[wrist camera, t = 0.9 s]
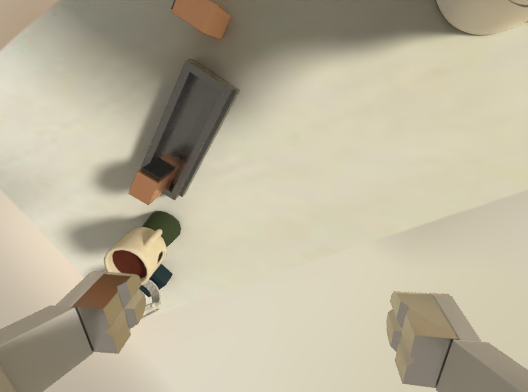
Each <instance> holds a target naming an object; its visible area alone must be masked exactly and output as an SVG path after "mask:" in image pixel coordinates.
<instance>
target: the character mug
mask: <svg viewBox="0 0 528 392" xmlns="http://www.w3.org/2000/svg"><path fill="white" fill-rule="evenodd" d="M180 231H181V227H180V224H179V221H178V220H177V219H176V218H174V217H173V216H172V215H170V214H168V213H166V212H160V211H159V212H155V213H153V214H152V215H151V216H150V217H149V219H148V220H147V221H146V222H145V224H144V225H143V226H142V227H138V228H135V229H133V230H132V231H130V232H129V233H128V234H126V235H125V236H124V237H123V238H122V239H121V240H120V241H119V242H118V243H117V244H115V245H114V246H113V247H112V248H111V249H110V250H109V251H108V252H107V253H106V256H105V258H104V264H105V268H106V270H107V272H116V273H127V274H136V275H138V276H139V277H140V280H141V283H142V284H141V285H143V284H145V283H146V282H147V281H148V280H149V278H150V277H151V276H152V274H153V273H154V272H155V270H156V269H157V268H158V267H159V265H160V264H161V263H162V261H163V260H164V258H165V256H166V254H167V248H166V247H167V246H169V245H170V244H171V243H172V242H173V241H174V240H175V239H176V238H177V237H178V236H179V235H180Z"/></svg>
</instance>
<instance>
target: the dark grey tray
mask: <svg viewBox="0 0 528 392" xmlns="http://www.w3.org/2000/svg"><path fill="white" fill-rule="evenodd" d="M239 91H240V90H238V89H237V88H235V87H234V86H232V85H230V84H229V83H227V82H226V81H224V80H223V79H221V78H220V77H218V76H217V75H215V74H213V73H212V72H210V71H209V70H207V69H206V68H204V67H203V66H201V65H200V64H198V63H197V62H195V61H193V60H190V59H188V61H186V62H185V65H184V67H183V70H182V72H181V74H180V77H179V79H178V81H177V84H176V86H175V88H174V91H173V93H172V96H171V98H170V100H169V103H168V105H167V107H166V110H165V112H164V114H163V117H162V119H161V122H160V124H159V126H158V129H157V131H156V133H155V136H154V138H153V140H152V143H151V145H150V148H149V150H148V152H147V155H146V157H145V159H144V162H143V164H142V166H141V169H140V170H139V171H138V172H137V174H136V177H135V179H134V181H133V184H132V186H131V188H130V191H129V193H128V194H130V195H132V196H133V197H135V198H137V199H139V200H140V201H142V202H144V203H145V204H147V205H149V204H150V203H152V202H153V201H154V200H155V199H156V198H157V197H159V196H160V195H161V194H162V193H163V194H165V195H167V196H168V197H170V198H172V199H174V200H175V199H176V198H177V197H178V196H179V195H180V196H181V197H183V196H184V194H185V193H186V192H187V190H188V188H189V186H190V184H191V182H192V180H193V178H194V176H195V174H196V172H197V171H198V169H199V167H200V165H201V163H202V161H203V159H204V157H205V155H206V153H207V152H208V150H209V148H210V146H211V144H212V142H213V140H214V138H215V136H216V134H217V133H218V131H219V129H220V127H221V125H222V123H223V121H224V119H225V117H226V115H227V114H228V112H229V110H230V108H231V106H232V104H233V102H234V100H235V98H236V96H237V95H238V93H239Z"/></svg>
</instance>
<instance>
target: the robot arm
mask: <svg viewBox="0 0 528 392" xmlns="http://www.w3.org/2000/svg"><path fill="white" fill-rule="evenodd" d="M436 1H437V4H438V7H439V9H440V11H441V13H442V14H443V16H444V17H445V18H446V19H447V21H448V22H449V23H450V24H452V25H453V26H454V27H456V28H457V29H459V30H461V31H464V32H467V33H470V34H476V35H488V34H495V33H499V32H502V31H506V30H508V29H511V28H513V27H515V26H517V25H519V24H522V23H524V22H527V21H528V0H436ZM141 284H142V283H141V280H140V277H139V276H138V275H136V274H127V273H116V272H102V271H94V272H91V273H89V274H88V275H87V276H86V277H85V278H84V279H83V280H82V281H81V282H80V283H79V284H78V285H77V286H76V287H75V288H74V289H72V290H71V291H70V292H69V293H68V294H67V295H66V296H65V297H64V298H63V299H62V300H61V301H60V302H59V303H57V304H56V305H55V306H48V307H47V308H44V309H42V310H40V311H38V312H36V313H34V314H32V315H30V316H27V317H25V318H23V319H21V320H19V321H17V322H15V323H13V324H11V325H9V326H7V327H4V328H2V329H0V392H43V391H44V390H45V389H47V388H48V387H49V386H51V385H52V384H53V383H55V382H56V381H57V380H59V379H60V378H61V377H62V376H64V375H65V374H66V373H68V372H69V371H70V370H71V369H72V368H74V367H75V366H77V365H78V364H79V363H81V362H82V361H83V360H85V359H86V358H87V357H88V356H90V355H91V354H92V353H93V352H105V353H119V352H120V350H121V349H122V347H123V346H124V344H125V343H126V341H127V340H128V338H129V337H130V335H131V334H130V328H132V327H134V326H135V325H137V324H138V323H139V321H140V320H141V318H142V317H143V314H144V311H145V307H146V299H145V295H144V294H143V293H142V292H141V291H140V290H139V287H140V286H141ZM390 302H391V305H392V308H393V309H392V310H391V311H389V312H388V316H387V334H388V339H389V342H390V345H391V347H392V348H393V349H394V350H395V351H396V352H397V354H396V359H395V362H396V365H397V368H398V371H399V374H400V377H401V380H402V383H403V384H410V385H417V386H418V385H419V386H426V387H432V388H436V390H437V391H438V392H528V370H527V369H526V368H524V367H523V366H521V365H520V364H518V363H517V362H516V361H514V360H513V359H511V358H510V357H508V356H507V355H506V354H504V353H503V352H501V351H500V350H498V349H497V348H495V347H494V346H493V345H491V344H489V343H486V342H482V341H481V339H480V338H479V337H478V335H477V334H476V332H475V331H474V329H473V327H472V326H471V324H470V323H469V322H468V320H467V319H466V317H465V316H464V314H463V313H462V311H461V309H460V308H459V306H458V305H457V304H456V302H455V300H454V299H453V297H452V296H450V295H449V294H436V293H429V294H428V293H413V292H396V291H394V292H393V293H392V295H391V300H390Z"/></svg>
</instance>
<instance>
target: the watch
mask: <svg viewBox="0 0 528 392" xmlns="http://www.w3.org/2000/svg"><path fill="white" fill-rule="evenodd" d="M172 275H173V274H172V273H171V272H170V271H169V270H167V269H166V268H165V267H164V266H163V265H162V264H160V265H159V267H158V268H157V269H156V270H155V272H154V273H153V274H152V276H151V277H150V278H149V280H148V281H147V282H146V283H145V284H143V285H141V286H140V287H139V289H140V290H141V291H142V292H143V293H144V294H146V295H147V296H148V297H150V296H151V297H152V303H150V304H148V305H146V307H145V311H144V314H143V317H142V318H141V320H142V319H144V318H146V317H148V316H150V315H151V314H153V313H154V312H156V311H157V310H158V309H159V307H158V306H159V305H160V304H161V295H160V291H159V290H160V289H161V288H162V287H164V286H165V285H166V284H167V282H168V281H169V279H170V278H171V276H172Z"/></svg>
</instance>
